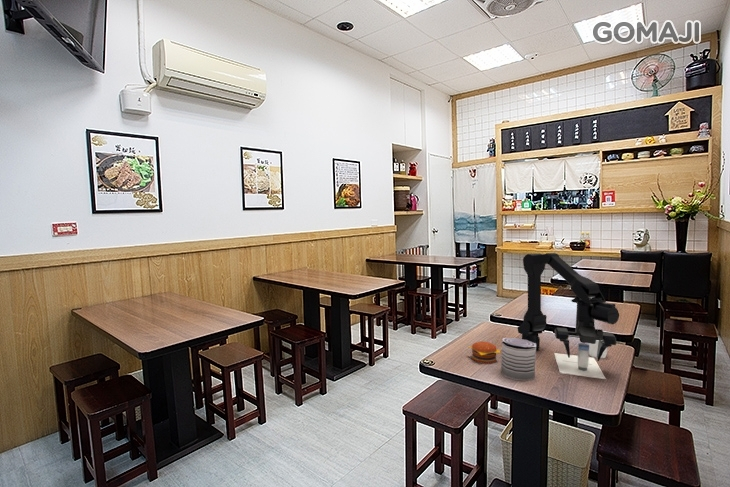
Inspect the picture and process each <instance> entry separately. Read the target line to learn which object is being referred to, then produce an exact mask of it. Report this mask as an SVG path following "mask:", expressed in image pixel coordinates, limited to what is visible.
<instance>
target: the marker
mask: <svg viewBox="0 0 730 487" xmlns="http://www.w3.org/2000/svg"><path fill="white" fill-rule="evenodd" d="M577 346H578V347H577V356H578V364H577V365H578V369H579V370H583V371H587V368H588V362H589V357H590V354H589V343H582V342H580V343H578V345H577Z"/></svg>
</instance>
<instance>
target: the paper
mask: <svg viewBox="0 0 730 487" xmlns="http://www.w3.org/2000/svg"><path fill="white" fill-rule="evenodd" d="M553 354H554V358H555V361H556V364H557V368H558V371H559V374H564V375H565V374H566V375H571V376H579V377H585V378H586V377H587V378H594V379H602V380H607V378H606V376H605V374H604V373H603V371H602V370H601V368H600V365H599V364H598V363H597V362H598V361H597V359H595V357H592V356H591V357H590V356H589V362H588V368H587V371H583V370H579V369H578V365H577V364H578V355H576V354H575V355H573V354H570V358H568V355H567V353H557V352H554V353H553Z"/></svg>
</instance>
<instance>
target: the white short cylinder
mask: <svg viewBox="0 0 730 487" xmlns="http://www.w3.org/2000/svg"><path fill="white" fill-rule="evenodd" d="M598 342H599V340H596V343H595V344H591V343H588V345H589V356H591V357H592V358H596V359H597V350H598ZM608 348H609V347H607V348H606V349H605V350H604V352H603V354H602V356H601V358H600V359H606V358H607V354H608Z"/></svg>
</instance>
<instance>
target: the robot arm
mask: <svg viewBox="0 0 730 487" xmlns="http://www.w3.org/2000/svg"><path fill="white" fill-rule="evenodd" d="M522 264H523V269H524V271H525V273H526V274H527V310H526V312H525V313H524V315H523V319H522V321H523V322H522V323H521V324H520V325H519V326H518V327H517V328H516V329H517V332H518V334H521V339H524V340H528V341H531V342H533V343H536V352H537V351H539V349H540V344H541V338H540V336H539V334H541V335H542V334H543V332H544V329H546V325H547V326H548V323H547V318H548V317H547V315H546V314H544V313H543V312H542V304H541V303H542V291H541V290H542V288H541V287H542V282H541V281H542V278H541V277H542V274H543V272H544V271H545V270H546V265H548V266H549V267H551V268H552V269H553V270H554V271H555V272H556V273H557V274H558V275H559V276H560V277H562V279H564V280H565V281H566V282H567V283H568V285H569V288H570V290H571V292H573V294H574V295H575V297H574V298H572V299H571V301H570V302H572V303H576V314H575V316H576V317H575V331H570V330H569V331H568V328H565V327H555V329H554V336H555V339H557V340H559V341H560V342H562V343H563V345H564V347H565V351H566V354H567V355H568V358H570V355H571V352H570V339H569V338H577V339H579V342H580V343H584V344H589V343H591V344H595V343H596V340H599V342H598V350H597V358H596V362H600V359H602V358H601V356H602V354H603V352H604V350H605V349H606V348H607V347H608V348H610V347H612V346H617V337H616V335H614V334H613V333H612V332H606V331H603V329H598V328H597V329H596V326H595V324H596V323H595V321H598V322H601V323H606V324H609V325H615V324H616V323H617V322H618V321H619V320H620V313H619V309H618V308H616V303H611V302H610V303H609V302H607V301H606V299H605V297H604V295H603V293H602V292H601V290H600V286H599V285H598V283H596V282H595V281H594V280H592V279H590V278H589V277H586V276H583V275H581V274H579V272H577V271H576V270H575V269H574V268H573V267H572V266H571V265H569V264H568V263H567V262H566V261H565V260H564V259H562V257H560V255H559V254H558V253H556V252H549V253H548V252H547V253H544V254H543V253H528V254H525V255H524V256H523V259H522ZM608 348H607V349H608Z"/></svg>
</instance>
